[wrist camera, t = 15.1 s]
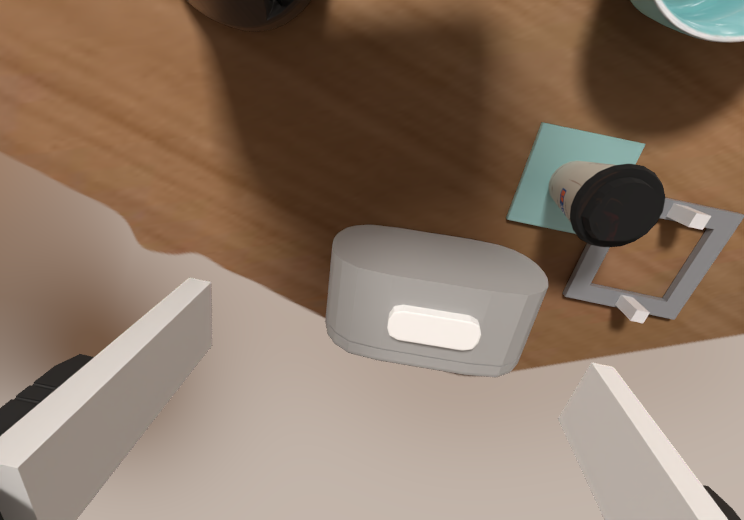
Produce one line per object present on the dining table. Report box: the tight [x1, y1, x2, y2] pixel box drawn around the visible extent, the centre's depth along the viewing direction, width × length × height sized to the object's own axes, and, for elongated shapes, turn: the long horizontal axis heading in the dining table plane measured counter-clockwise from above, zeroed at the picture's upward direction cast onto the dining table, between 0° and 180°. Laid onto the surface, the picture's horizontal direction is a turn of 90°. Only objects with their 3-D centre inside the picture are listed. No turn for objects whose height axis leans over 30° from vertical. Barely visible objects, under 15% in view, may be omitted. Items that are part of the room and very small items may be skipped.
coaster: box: [506, 122, 645, 234], centre depth 37 cm, size 10×10×1 cm
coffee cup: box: [549, 161, 665, 247], centre depth 32 cm, size 7×7×10 cm
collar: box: [563, 198, 744, 323], centre depth 38 cm, size 13×13×4 cm
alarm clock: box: [325, 225, 548, 377], centre depth 37 cm, size 21×10×13 cm, turn 82°
